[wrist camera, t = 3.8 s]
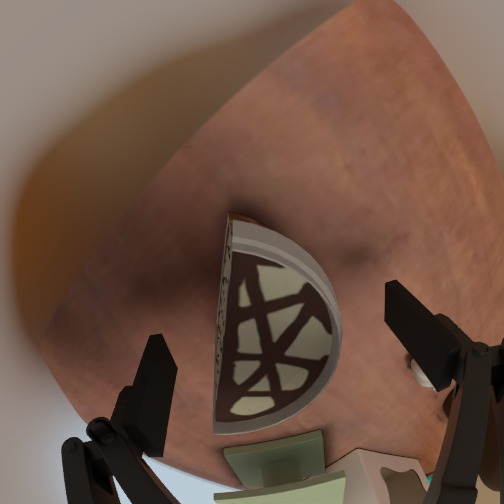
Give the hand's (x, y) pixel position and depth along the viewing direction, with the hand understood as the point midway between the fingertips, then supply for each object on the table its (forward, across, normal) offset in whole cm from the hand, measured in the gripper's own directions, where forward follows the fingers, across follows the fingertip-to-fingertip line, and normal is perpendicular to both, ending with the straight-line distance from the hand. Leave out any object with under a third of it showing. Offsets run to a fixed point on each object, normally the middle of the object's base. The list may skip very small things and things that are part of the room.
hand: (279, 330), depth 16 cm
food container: (+7, 0, 0) cm, 7 cm away
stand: (+7, -3, -28) cm, 29 cm away
